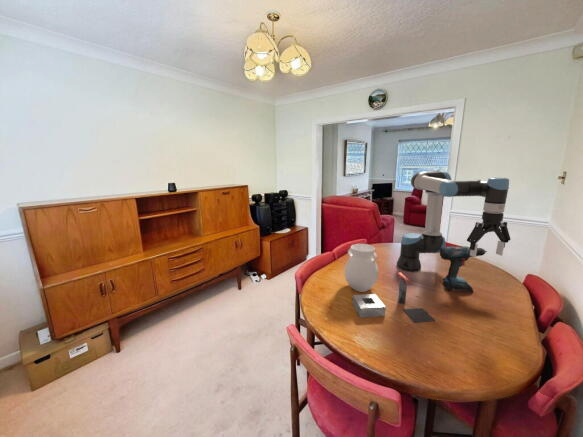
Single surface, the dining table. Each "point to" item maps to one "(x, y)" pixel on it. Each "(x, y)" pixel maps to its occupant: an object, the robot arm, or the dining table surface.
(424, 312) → the mat
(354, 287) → the white vase
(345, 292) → the dining table surface
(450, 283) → the power drill
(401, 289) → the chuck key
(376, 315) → the block
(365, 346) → the dining table surface
